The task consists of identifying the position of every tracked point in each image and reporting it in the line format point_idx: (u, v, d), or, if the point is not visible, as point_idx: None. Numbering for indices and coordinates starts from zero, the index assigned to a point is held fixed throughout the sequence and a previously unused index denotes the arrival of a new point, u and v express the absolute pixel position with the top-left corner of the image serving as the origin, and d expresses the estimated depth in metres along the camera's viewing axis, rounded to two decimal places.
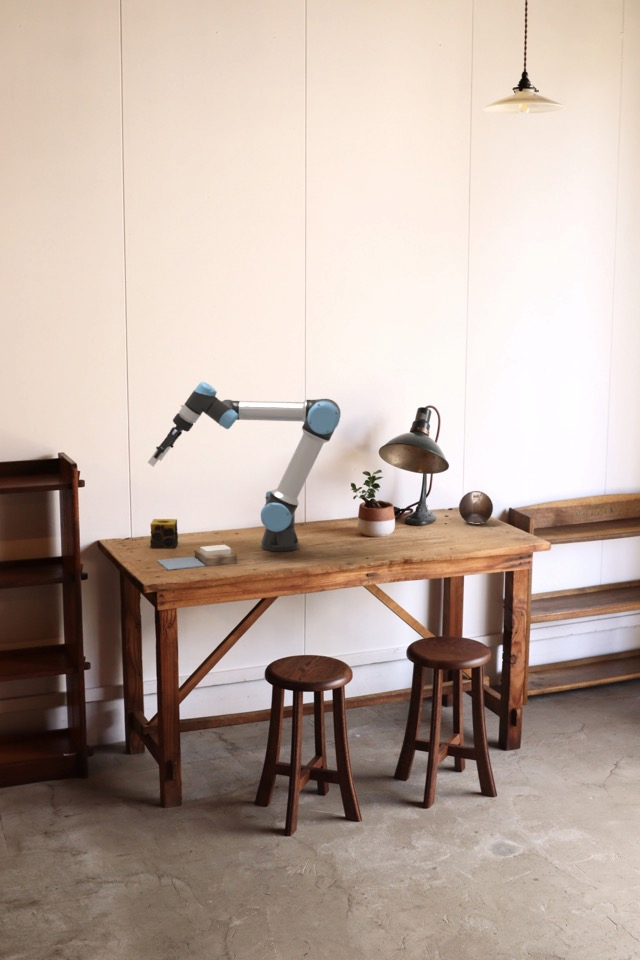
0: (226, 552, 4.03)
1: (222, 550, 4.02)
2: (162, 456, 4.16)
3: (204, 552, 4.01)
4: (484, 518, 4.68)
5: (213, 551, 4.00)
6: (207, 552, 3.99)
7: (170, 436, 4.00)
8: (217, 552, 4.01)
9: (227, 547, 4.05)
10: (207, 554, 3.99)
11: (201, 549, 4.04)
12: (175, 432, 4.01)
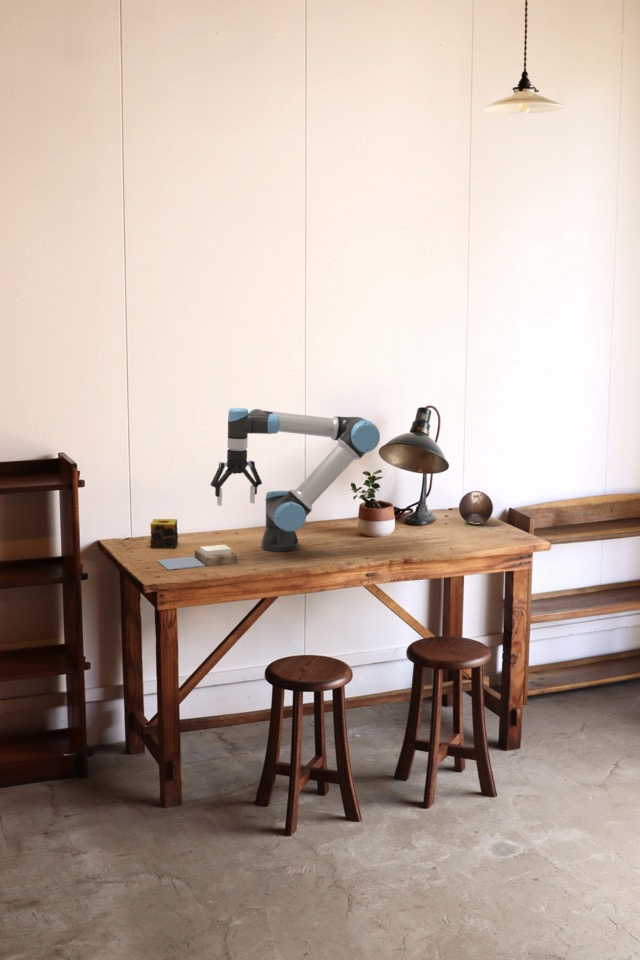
0: (226, 552, 4.03)
1: (222, 550, 4.02)
2: (252, 498, 4.08)
3: (204, 552, 4.01)
4: (484, 518, 4.68)
5: (213, 551, 4.00)
6: (207, 552, 3.99)
7: (218, 469, 4.00)
8: (217, 552, 4.01)
9: (227, 547, 4.05)
10: (207, 554, 3.99)
11: (201, 549, 4.04)
12: (220, 464, 3.99)
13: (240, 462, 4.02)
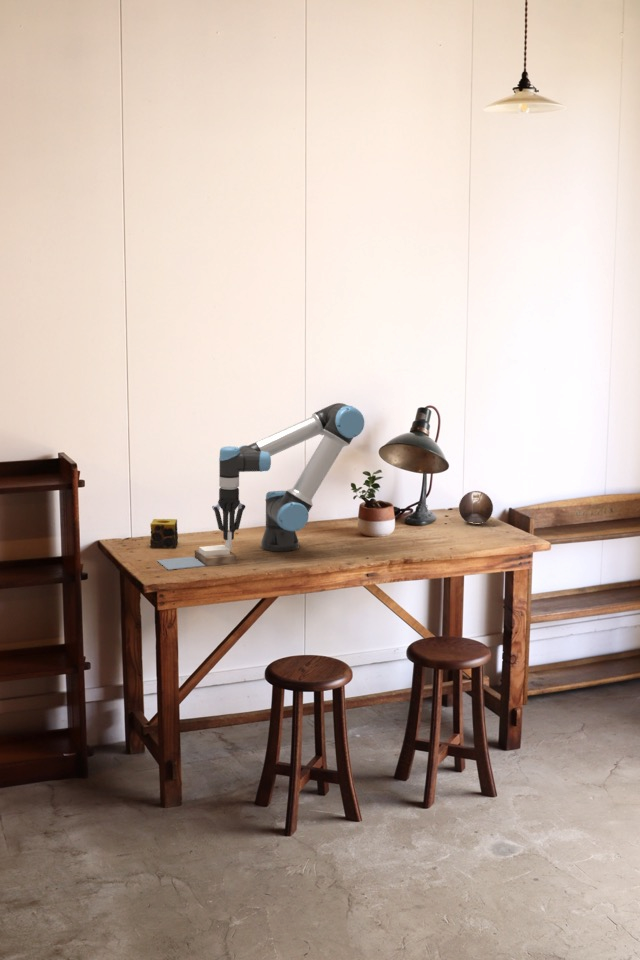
0: (225, 552, 4.02)
1: (221, 550, 4.02)
2: None
3: (203, 553, 4.01)
4: (484, 518, 4.68)
5: (212, 551, 4.00)
6: (206, 552, 3.99)
7: (216, 514, 4.02)
8: (216, 552, 4.01)
9: (226, 547, 4.05)
10: (206, 554, 3.99)
11: (200, 549, 4.04)
12: (214, 509, 4.01)
13: None
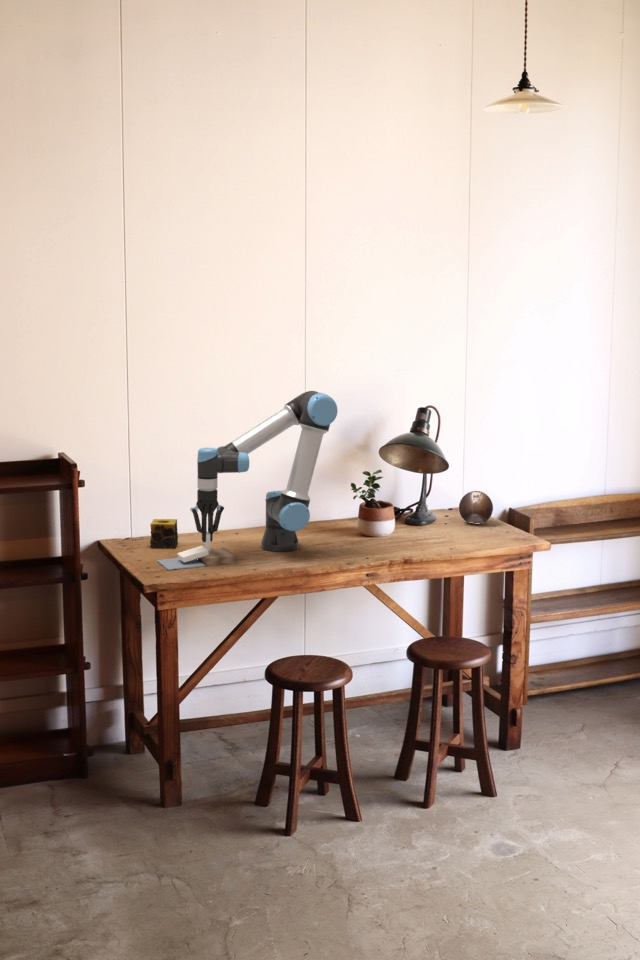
0: (203, 554, 3.99)
1: (199, 553, 3.98)
2: None
3: (182, 559, 3.97)
4: (484, 518, 4.68)
5: (190, 556, 3.97)
6: (184, 558, 3.96)
7: (194, 516, 3.98)
8: (194, 556, 3.97)
9: (204, 549, 4.01)
10: (185, 560, 3.96)
11: (178, 555, 4.00)
12: (192, 511, 3.97)
13: None
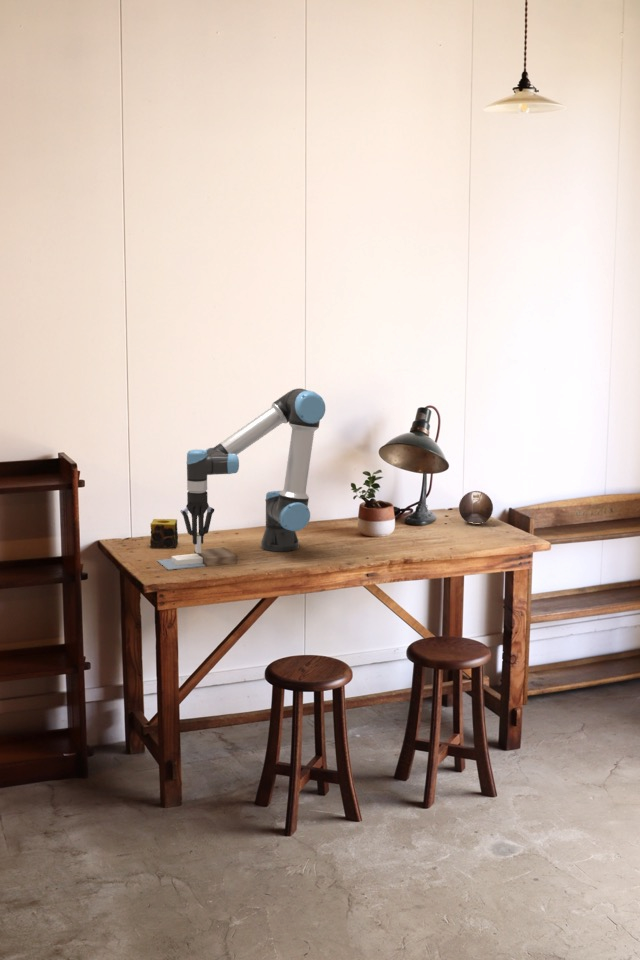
0: (197, 561, 3.98)
1: (193, 559, 3.97)
2: None
3: (175, 562, 3.96)
4: (484, 518, 4.68)
5: (184, 560, 3.96)
6: (178, 561, 3.95)
7: (184, 518, 3.97)
8: (188, 561, 3.97)
9: (199, 556, 4.00)
10: (178, 563, 3.95)
11: (172, 558, 3.99)
12: (182, 513, 3.95)
13: None
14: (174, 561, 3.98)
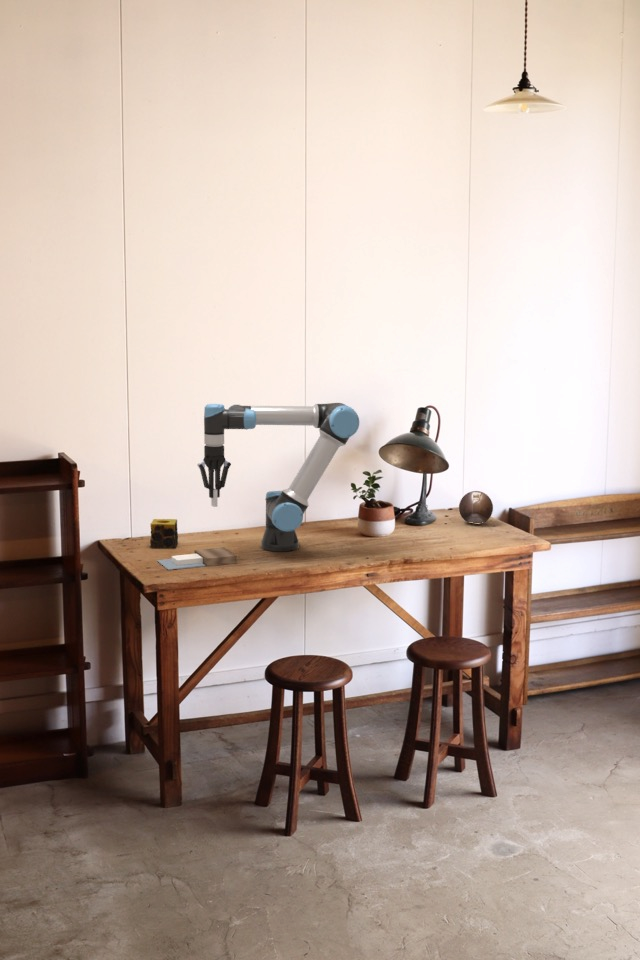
0: (197, 561, 3.98)
1: (193, 559, 3.97)
2: None
3: (175, 562, 3.96)
4: (484, 518, 4.68)
5: (184, 560, 3.96)
6: (178, 561, 3.95)
7: (201, 471, 4.01)
8: (188, 561, 3.97)
9: (199, 556, 4.00)
10: (178, 563, 3.95)
11: (172, 558, 3.99)
12: (199, 466, 4.00)
13: None
14: (174, 561, 3.98)
